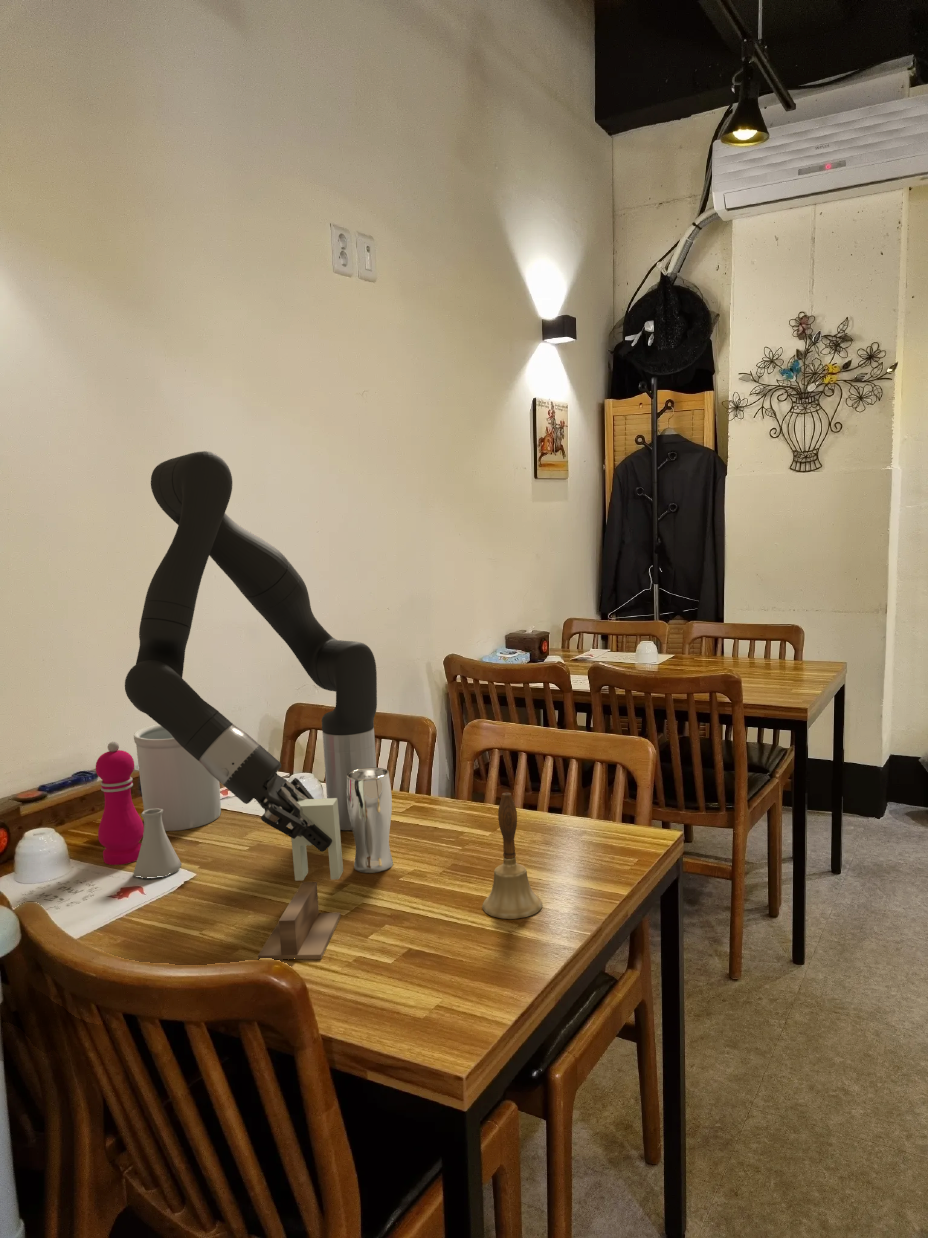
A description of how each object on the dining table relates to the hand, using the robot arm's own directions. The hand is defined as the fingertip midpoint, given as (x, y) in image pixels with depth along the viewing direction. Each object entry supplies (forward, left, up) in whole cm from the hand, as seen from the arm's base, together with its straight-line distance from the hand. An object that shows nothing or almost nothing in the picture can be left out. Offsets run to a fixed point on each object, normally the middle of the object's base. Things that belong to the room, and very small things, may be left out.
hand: (330, 841), depth 129 cm
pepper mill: (+21, -38, -9) cm, 44 cm away
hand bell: (-18, +19, -9) cm, 28 cm away
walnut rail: (+9, +9, -8) cm, 15 cm away
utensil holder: (+7, -52, -9) cm, 53 cm away
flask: (+18, -28, -9) cm, 34 cm away
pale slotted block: (+2, -1, -5) cm, 5 cm away
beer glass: (-10, -7, -9) cm, 15 cm away
